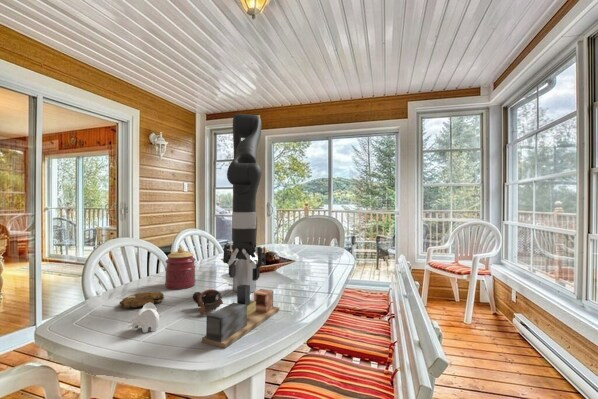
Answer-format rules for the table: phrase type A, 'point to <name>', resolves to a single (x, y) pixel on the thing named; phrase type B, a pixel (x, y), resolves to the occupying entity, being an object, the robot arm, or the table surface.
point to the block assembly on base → (238, 320)
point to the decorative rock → (141, 299)
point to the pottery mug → (207, 300)
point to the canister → (180, 270)
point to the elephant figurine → (146, 318)
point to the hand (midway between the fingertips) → (243, 278)
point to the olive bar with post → (245, 298)
